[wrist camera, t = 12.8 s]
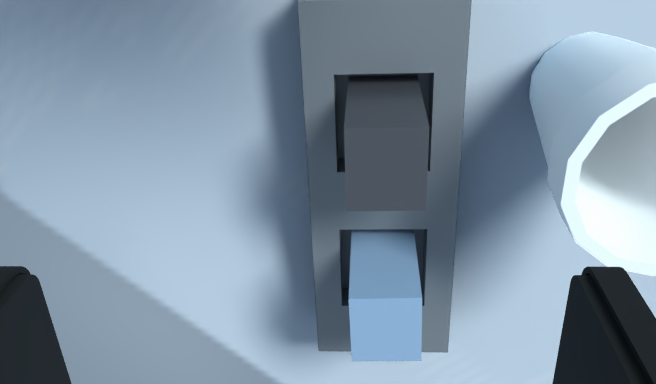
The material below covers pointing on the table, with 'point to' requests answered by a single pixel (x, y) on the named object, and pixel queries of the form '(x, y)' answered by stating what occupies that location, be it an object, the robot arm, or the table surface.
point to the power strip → (325, 143)
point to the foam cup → (601, 144)
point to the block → (385, 296)
